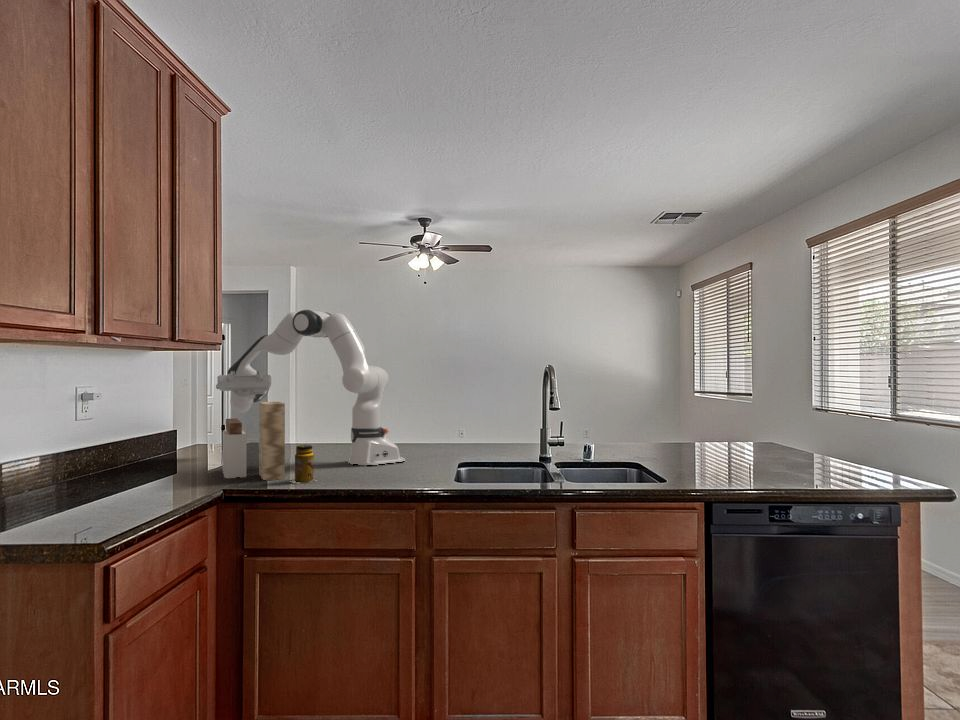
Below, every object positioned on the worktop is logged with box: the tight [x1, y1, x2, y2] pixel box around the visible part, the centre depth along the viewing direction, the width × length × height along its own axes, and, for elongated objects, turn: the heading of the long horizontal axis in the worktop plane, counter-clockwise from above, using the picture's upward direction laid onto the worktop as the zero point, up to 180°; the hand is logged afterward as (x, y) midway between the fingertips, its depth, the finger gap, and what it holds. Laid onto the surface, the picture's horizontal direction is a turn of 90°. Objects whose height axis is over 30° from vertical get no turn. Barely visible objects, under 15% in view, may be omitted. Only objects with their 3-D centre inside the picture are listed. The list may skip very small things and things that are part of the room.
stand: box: [258, 401, 286, 481], centre depth 211 cm, size 7×13×26 cm, turn 26°
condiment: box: [286, 444, 318, 485], centre depth 202 cm, size 7×8×12 cm
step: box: [222, 429, 248, 479], centre depth 216 cm, size 7×15×15 cm, turn 26°
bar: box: [225, 417, 243, 435], centre depth 219 cm, size 4×20×4 cm, turn 26°
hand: (246, 372), depth 235 cm, fingers open, 8 cm apart
